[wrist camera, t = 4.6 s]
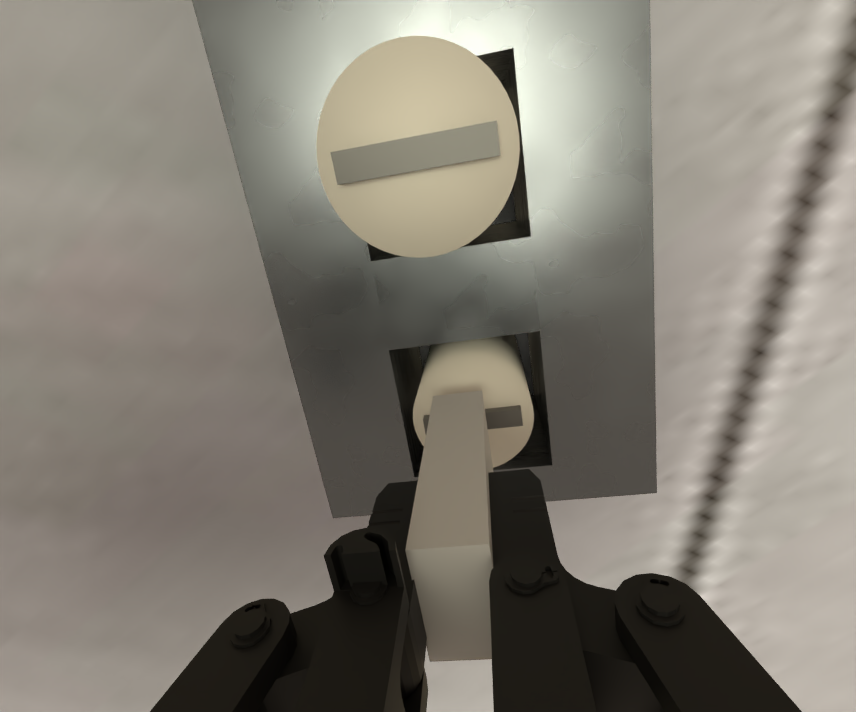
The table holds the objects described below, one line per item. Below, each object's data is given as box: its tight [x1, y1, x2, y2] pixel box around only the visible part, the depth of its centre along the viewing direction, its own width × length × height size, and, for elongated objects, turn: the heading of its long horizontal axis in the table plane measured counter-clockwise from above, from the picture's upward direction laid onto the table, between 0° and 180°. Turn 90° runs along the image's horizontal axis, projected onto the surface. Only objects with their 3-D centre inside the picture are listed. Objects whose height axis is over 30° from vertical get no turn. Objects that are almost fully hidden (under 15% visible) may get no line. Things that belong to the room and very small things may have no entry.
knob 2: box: [413, 334, 534, 468], centre depth 19 cm, size 4×4×7 cm
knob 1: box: [316, 36, 520, 258], centre depth 12 cm, size 4×4×7 cm
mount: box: [192, 0, 657, 518], centre depth 17 cm, size 12×24×6 cm, turn 9°
